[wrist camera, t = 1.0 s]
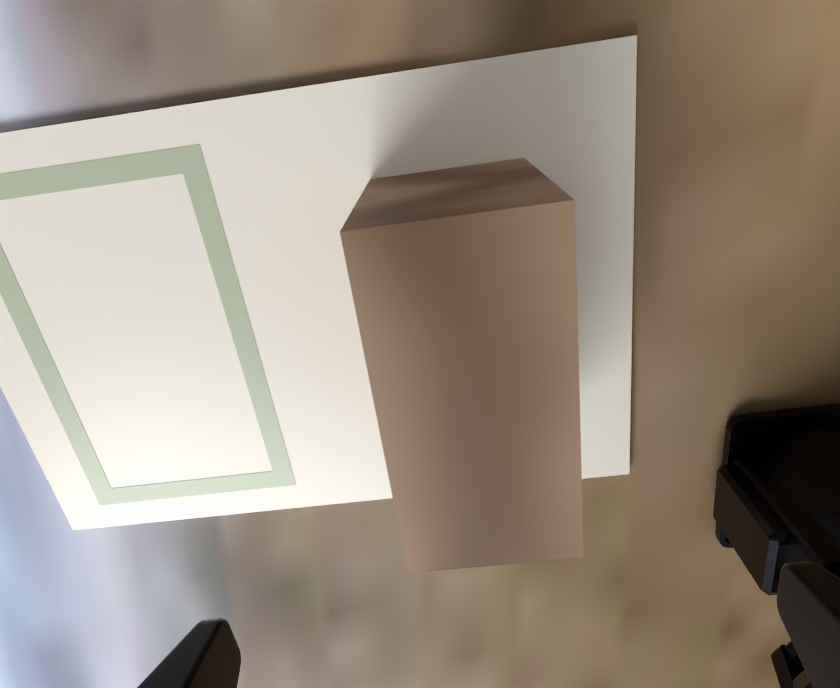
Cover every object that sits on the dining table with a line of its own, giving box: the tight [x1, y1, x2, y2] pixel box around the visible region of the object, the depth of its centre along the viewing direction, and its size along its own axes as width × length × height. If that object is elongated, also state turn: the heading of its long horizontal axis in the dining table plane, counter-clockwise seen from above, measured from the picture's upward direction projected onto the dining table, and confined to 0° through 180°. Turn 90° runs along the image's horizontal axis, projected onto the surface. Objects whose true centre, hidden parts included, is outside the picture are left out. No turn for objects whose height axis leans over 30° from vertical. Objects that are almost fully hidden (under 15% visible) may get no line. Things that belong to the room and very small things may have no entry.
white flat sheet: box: [0, 35, 637, 530], centre depth 21 cm, size 24×16×1 cm, turn 98°
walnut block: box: [340, 158, 584, 573], centre depth 17 cm, size 5×10×7 cm, turn 8°
